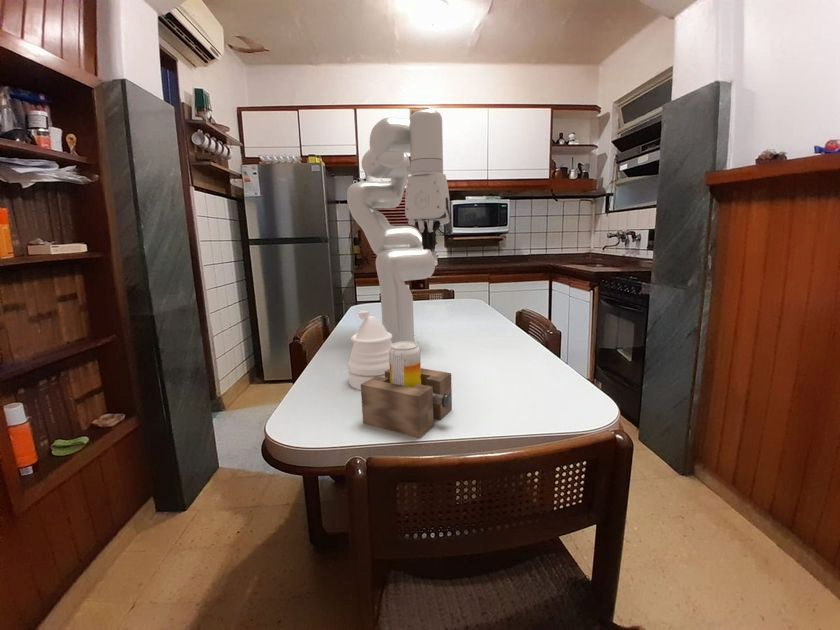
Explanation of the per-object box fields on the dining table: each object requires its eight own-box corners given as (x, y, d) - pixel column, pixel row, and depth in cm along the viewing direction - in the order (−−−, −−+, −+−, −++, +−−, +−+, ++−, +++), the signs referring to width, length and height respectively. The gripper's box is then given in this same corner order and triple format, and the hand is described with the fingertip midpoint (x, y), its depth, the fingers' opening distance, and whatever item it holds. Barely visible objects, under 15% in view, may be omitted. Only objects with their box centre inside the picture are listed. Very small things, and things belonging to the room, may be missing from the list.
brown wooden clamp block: (363, 422, 79) (360, 384, 77) (399, 398, 90) (397, 364, 88) (420, 438, 72) (419, 396, 71) (451, 409, 83) (451, 373, 81)
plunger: (421, 405, 77) (420, 392, 77) (427, 400, 79) (427, 387, 79) (445, 410, 74) (445, 397, 74) (451, 405, 77) (451, 392, 76)
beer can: (426, 412, 82) (424, 342, 79) (415, 425, 77) (412, 350, 74) (399, 408, 85) (396, 339, 81) (386, 421, 79) (383, 348, 76)
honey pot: (361, 395, 92) (356, 318, 88) (341, 379, 103) (336, 310, 99) (409, 382, 99) (407, 311, 95) (385, 368, 109) (382, 304, 106)
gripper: (391, 171, 94) (394, 250, 98) (448, 164, 87) (450, 250, 90) (408, 174, 100) (410, 248, 104) (463, 168, 93) (463, 248, 97)
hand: (429, 249), depth 97 cm, fingers closed
